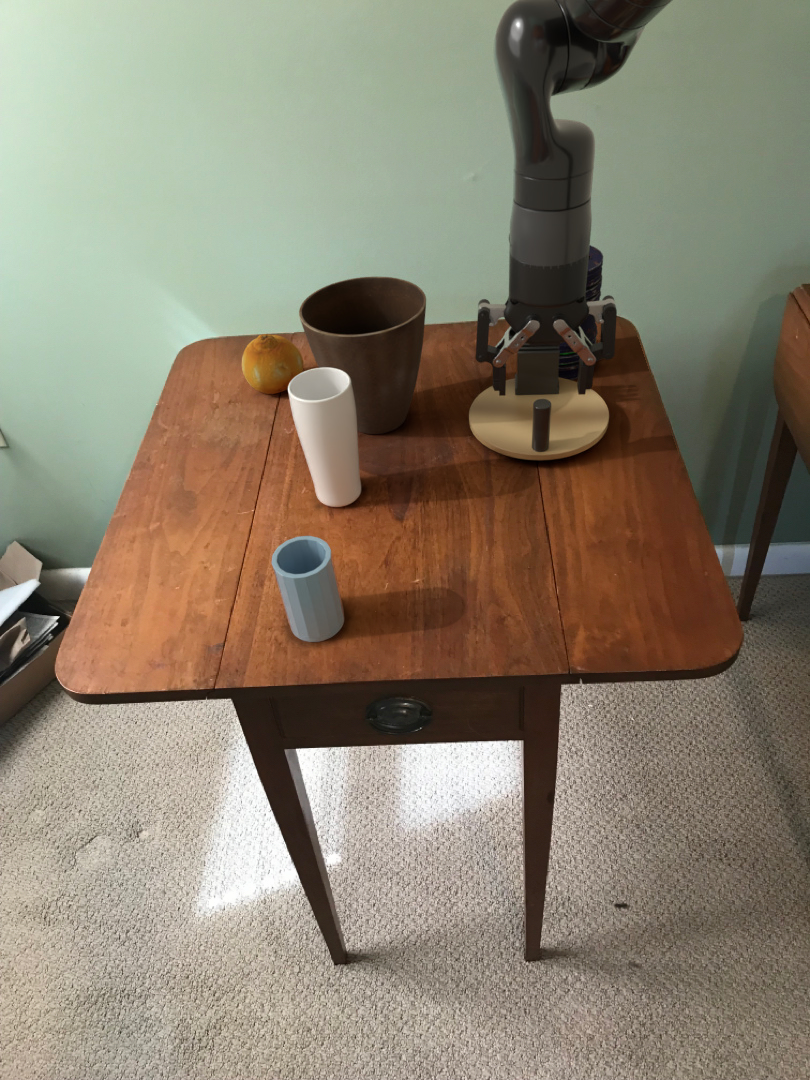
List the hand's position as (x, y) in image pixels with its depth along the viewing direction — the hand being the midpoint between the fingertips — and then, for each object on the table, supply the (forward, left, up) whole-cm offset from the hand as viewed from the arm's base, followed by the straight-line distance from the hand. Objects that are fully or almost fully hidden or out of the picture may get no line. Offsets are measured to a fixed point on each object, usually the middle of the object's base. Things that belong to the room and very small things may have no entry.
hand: (541, 391), depth 84 cm
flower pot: (+13, -19, -10) cm, 25 cm away
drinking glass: (+23, -7, -10) cm, 26 cm away
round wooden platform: (-4, -6, -8) cm, 11 cm away
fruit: (+22, -34, -10) cm, 41 cm away
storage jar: (-14, -18, -10) cm, 25 cm away
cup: (+32, +10, -10) cm, 35 cm away
